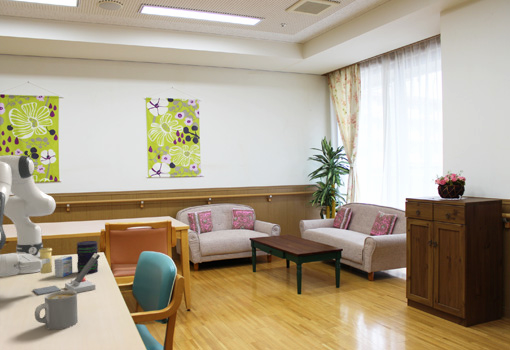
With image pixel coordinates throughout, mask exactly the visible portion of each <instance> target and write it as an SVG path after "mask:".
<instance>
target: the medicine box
mask: <svg viewBox="0 0 510 350" xmlns="http://www.w3.org/2000/svg"><path fill="white" fill-rule="evenodd" d="M71 274H73V256H70V255H67V256H66V255H65V256H61V257H59V258H56V259H54V277H55V278H64V277H67V276H69V275H71Z"/></svg>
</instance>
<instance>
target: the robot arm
mask: <svg viewBox="0 0 510 350" xmlns="http://www.w3.org/2000/svg"><path fill="white" fill-rule="evenodd" d="M34 170H35V163H34V160H33V159H32V158H31V157H30V156H27V155H14V154H13V155H9V154H7V155H0V251H1V250H2V249H3V248H4V247H5V245H6V241H7V236H6V233H5V230H4V227H3V223H4V216H6V217H7V218H9V219H10V220H11V222H12V223H13V225H14V226H15V230H16V237H17V243H16V249H15V250H16V252H11V253H10V252H9V253H3V254H1V253H0V277H7V276H8V277H9V276H16V275H18V274H19V275H20V274H21V275H22V274H33V273H40V269H41V268H42V265H43V264H46V263H50V262H51V261H50V258H45V259H40V252H39V249H43V247H44V244H43V243H44V242H42V241H43V240H42V228H41V226H40V225H39V224H37V223H35V222H33V221H31V219H30V217H44V216H48V215H52V214H53V213H54V211H55V209H56V207H57V204H56V201H55V199H54V197H53V196H51V195H49V194H46V193H45V192H43V191H42V190H41V189H39V187H38V186H37V185H36V182H35V180H34V177H33V174H34ZM11 194H12V196H11Z"/></svg>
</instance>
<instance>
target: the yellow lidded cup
mask: <svg viewBox="0 0 510 350" xmlns="http://www.w3.org/2000/svg"><path fill="white" fill-rule="evenodd" d="M39 252H40V259H45V258H50V261H51V262H50V263H46V264H43V265H42V268H41V269H40V271H39V273H40V274H41V275H44V274H50V273H52V272H53V271H52V270H53V267H52V266H53V265H52V263H53V262H52V252H53V248H52V247H45V248H43V249H39Z"/></svg>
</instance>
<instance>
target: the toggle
mask: <svg viewBox="0 0 510 350" xmlns="http://www.w3.org/2000/svg"><path fill="white" fill-rule="evenodd" d="M100 257H101V255H100V254H99V253H97V254H96V253H94V255H93V256H92V258H91V259H90V260H89V261H88V263H87V264H86V265H85V267H84V268H83V269H82V271H81V272H80V273H79V274H77V276H76V277H75V278H74V279H75V280H73V279H72V280H73V281H72V283H73V284H75V285H76V286H79V285H80V282H81V281H82V279H83V278H86V277H85V276H86V275H88V274H87V273H88V272H89V270H90V269H91V268H92V266H93V265H94V264H95V262H96V261H97V260H98V261H99V259H100Z"/></svg>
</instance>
